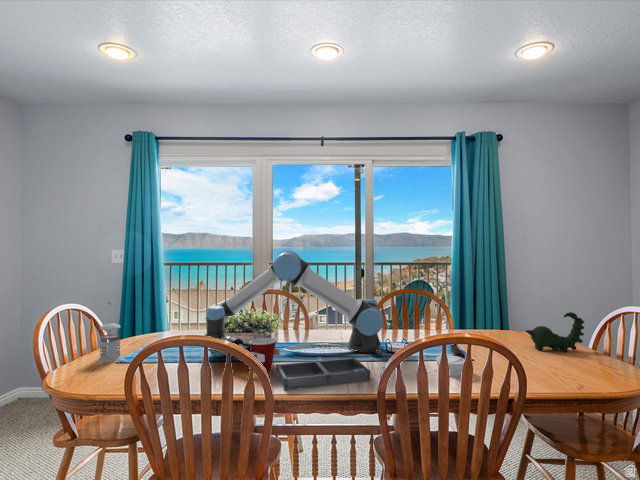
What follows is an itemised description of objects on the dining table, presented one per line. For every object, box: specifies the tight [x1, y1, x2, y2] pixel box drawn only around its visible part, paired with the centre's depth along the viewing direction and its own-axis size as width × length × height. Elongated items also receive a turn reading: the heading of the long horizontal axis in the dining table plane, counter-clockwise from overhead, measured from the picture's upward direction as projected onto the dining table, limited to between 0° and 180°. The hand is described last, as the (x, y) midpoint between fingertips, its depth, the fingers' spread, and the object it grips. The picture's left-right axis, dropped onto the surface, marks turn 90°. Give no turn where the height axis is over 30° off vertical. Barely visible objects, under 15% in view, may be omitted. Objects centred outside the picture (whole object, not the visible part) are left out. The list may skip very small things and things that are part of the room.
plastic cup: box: [249, 337, 278, 372], centre depth 164 cm, size 11×11×12 cm
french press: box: [97, 300, 124, 363], centre depth 178 cm, size 10×12×25 cm
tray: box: [275, 357, 371, 391], centre depth 155 cm, size 32×16×4 cm, turn 106°
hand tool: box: [450, 343, 466, 359], centre depth 184 cm, size 19×4×5 cm, turn 169°
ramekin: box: [435, 354, 466, 377], centre depth 161 cm, size 11×11×5 cm
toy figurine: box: [525, 312, 585, 353], centre depth 190 cm, size 9×19×25 cm
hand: (272, 355), depth 161 cm, fingers closed on plastic cup, 9 cm apart
